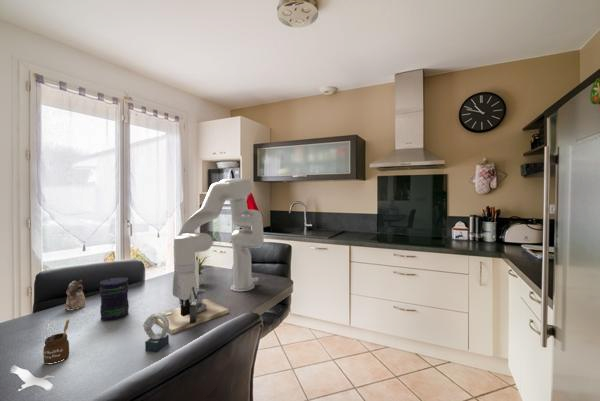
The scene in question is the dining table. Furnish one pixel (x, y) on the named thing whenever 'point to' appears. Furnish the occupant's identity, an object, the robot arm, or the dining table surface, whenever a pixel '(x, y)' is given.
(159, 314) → the white ring on base
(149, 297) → the dining table surface
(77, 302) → the figurine
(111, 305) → the storage jar
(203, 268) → the house plant
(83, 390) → the dining table surface
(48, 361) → the brown rounded container
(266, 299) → the dining table surface
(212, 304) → the cutting board
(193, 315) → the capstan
